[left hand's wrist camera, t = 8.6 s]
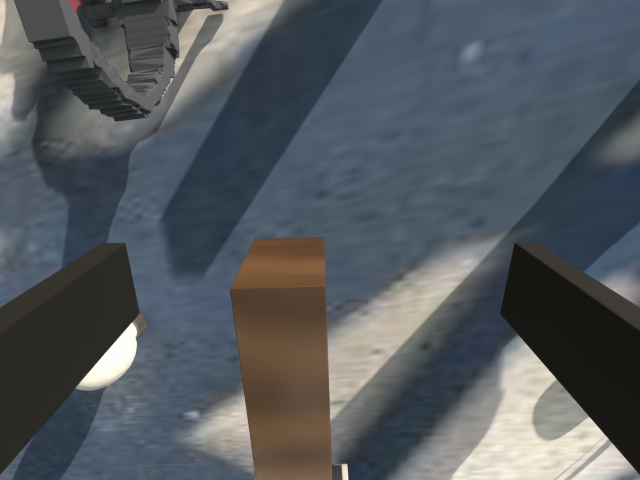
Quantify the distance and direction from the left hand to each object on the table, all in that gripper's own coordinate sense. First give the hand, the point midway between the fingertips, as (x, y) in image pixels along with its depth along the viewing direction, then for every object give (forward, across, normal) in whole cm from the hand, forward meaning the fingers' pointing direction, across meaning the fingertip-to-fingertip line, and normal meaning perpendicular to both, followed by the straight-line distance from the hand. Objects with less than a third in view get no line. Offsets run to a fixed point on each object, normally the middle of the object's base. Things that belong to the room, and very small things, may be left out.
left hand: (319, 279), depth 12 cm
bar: (+15, -2, -16) cm, 22 cm away
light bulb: (+29, -25, -21) cm, 44 cm away
